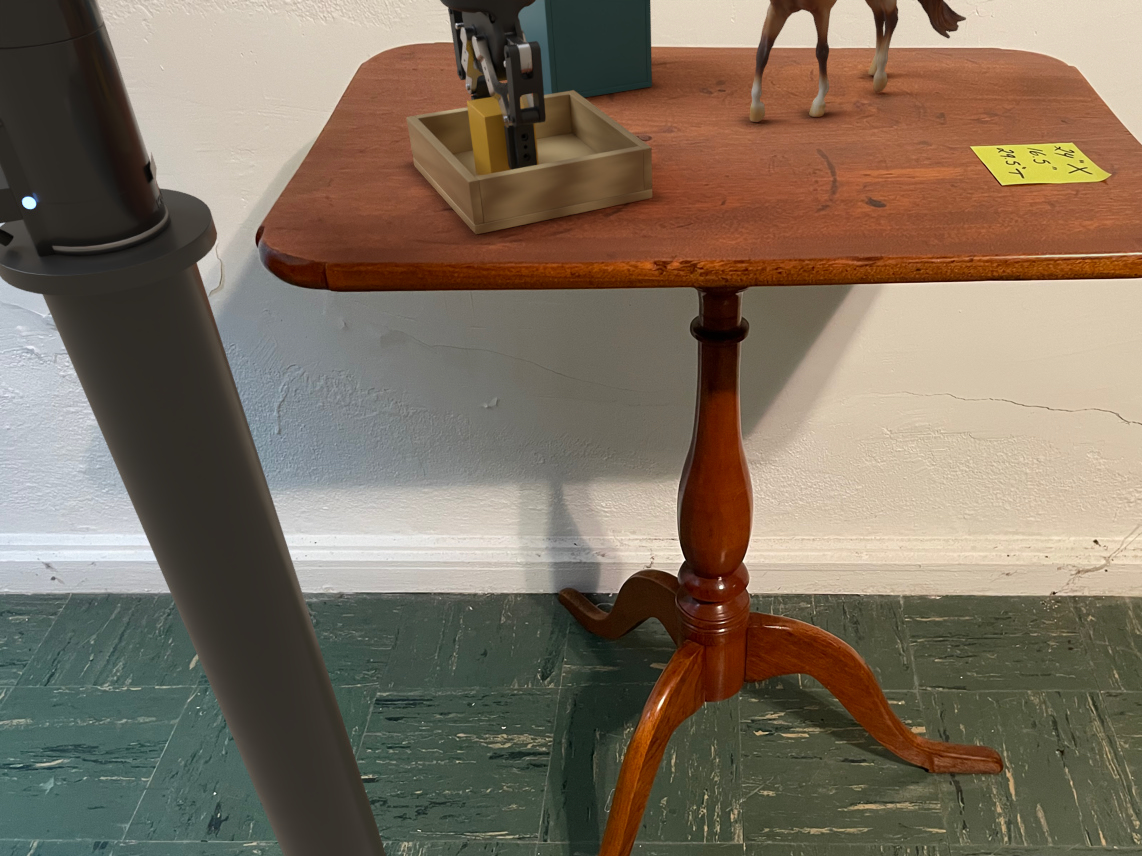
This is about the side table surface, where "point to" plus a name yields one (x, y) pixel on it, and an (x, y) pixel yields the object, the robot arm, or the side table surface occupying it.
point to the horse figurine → (819, 6)
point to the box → (535, 166)
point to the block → (489, 136)
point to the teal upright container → (591, 44)
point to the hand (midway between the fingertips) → (506, 154)
